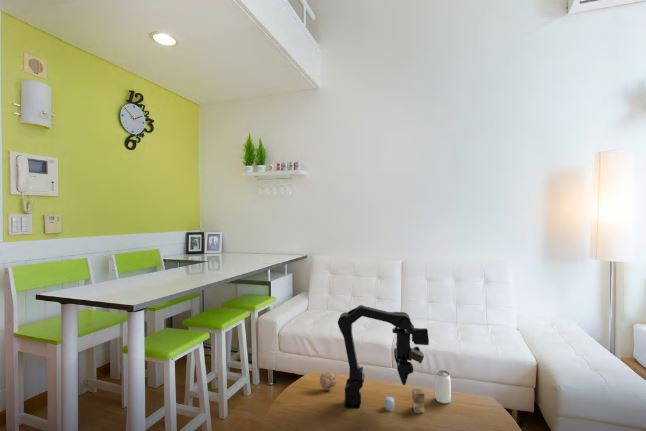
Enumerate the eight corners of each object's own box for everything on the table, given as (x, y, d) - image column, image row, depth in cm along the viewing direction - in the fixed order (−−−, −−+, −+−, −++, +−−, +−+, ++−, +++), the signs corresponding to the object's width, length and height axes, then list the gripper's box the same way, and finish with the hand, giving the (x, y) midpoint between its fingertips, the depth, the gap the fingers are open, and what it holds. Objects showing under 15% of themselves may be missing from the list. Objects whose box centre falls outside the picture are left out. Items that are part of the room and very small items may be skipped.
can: (452, 404, 148) (451, 377, 148) (436, 403, 149) (435, 375, 149) (449, 396, 154) (449, 370, 154) (434, 395, 155) (434, 369, 155)
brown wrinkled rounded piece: (336, 387, 165) (336, 370, 165) (335, 393, 158) (335, 376, 158) (320, 386, 165) (320, 370, 165) (319, 393, 159) (319, 376, 159)
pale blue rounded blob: (385, 411, 144) (385, 401, 144) (384, 405, 148) (384, 396, 148) (394, 411, 143) (394, 402, 143) (394, 406, 147) (393, 397, 147)
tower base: (414, 412, 142) (414, 402, 142) (413, 407, 146) (412, 397, 146) (424, 413, 142) (424, 403, 142) (422, 407, 146) (422, 398, 146)
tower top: (415, 403, 142) (414, 393, 142) (412, 398, 146) (412, 388, 146) (424, 403, 142) (424, 393, 142) (421, 398, 146) (421, 388, 146)
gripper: (426, 353, 136) (425, 392, 136) (419, 336, 154) (418, 371, 154) (398, 351, 137) (397, 390, 137) (394, 335, 155) (393, 369, 155)
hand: (402, 379), depth 146 cm, fingers open, 9 cm apart
